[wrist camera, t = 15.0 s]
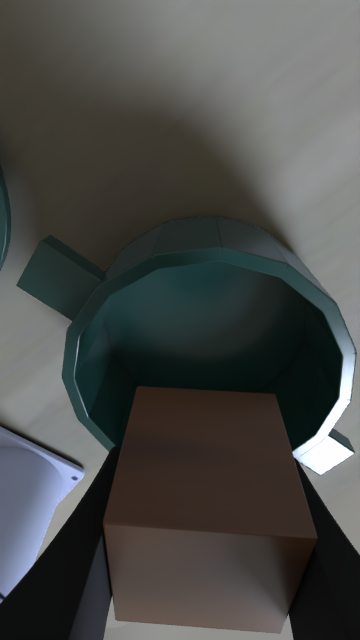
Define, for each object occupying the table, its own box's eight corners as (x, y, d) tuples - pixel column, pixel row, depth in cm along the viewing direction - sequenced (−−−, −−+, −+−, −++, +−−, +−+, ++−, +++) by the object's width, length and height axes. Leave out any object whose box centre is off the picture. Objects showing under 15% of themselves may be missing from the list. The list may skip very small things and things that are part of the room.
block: (256, 483, 13) (281, 634, 9) (140, 476, 13) (114, 621, 9) (275, 393, 11) (319, 538, 7) (137, 385, 11) (102, 523, 7)
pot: (245, 450, 25) (256, 530, 20) (22, 315, 21) (-38, 374, 15) (391, 334, 20) (459, 403, 15) (136, 121, 15) (104, 112, 10)
